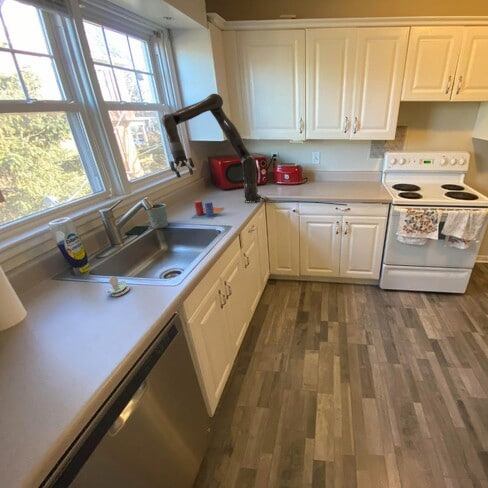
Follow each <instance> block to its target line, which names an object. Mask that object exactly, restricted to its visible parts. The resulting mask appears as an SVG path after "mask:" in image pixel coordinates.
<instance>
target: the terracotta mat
mask: <svg viewBox="0 0 488 488" xmlns="http://www.w3.org/2000/svg"><path fill="white" fill-rule="evenodd" d="M224 209H225V207H217V206H216V207H215V206H213V211H214V213H220V212H221V211H222V210H224ZM203 210H204V212H206V209H205V207H203Z"/></svg>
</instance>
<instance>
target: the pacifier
mask: <svg viewBox="0 0 488 488" xmlns="http://www.w3.org/2000/svg"><path fill="white" fill-rule="evenodd" d="M108 283H109V284H110V286H111V287H112V288H111V289H107V290H105V291H104V292H105V293H107V294H111V296H112V297H119V296H122V295H124V294H125V293H127V292H128V291H129V290H130V289H131V288H130V286H129V285H127V281H125V280H121V281H119V279H118V277H116V276H114V275H113V276H111V277H109V279H108Z"/></svg>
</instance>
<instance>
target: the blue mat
mask: <svg viewBox="0 0 488 488" xmlns="http://www.w3.org/2000/svg"><path fill="white" fill-rule="evenodd" d="M218 213H219V212H214V216H213V217H207V215H206V212H204V215H203V216H197V215H196V214H195V215H194V216H192V217H191V218H192V219H214V218H215V217H216V216H217V215H218Z"/></svg>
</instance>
